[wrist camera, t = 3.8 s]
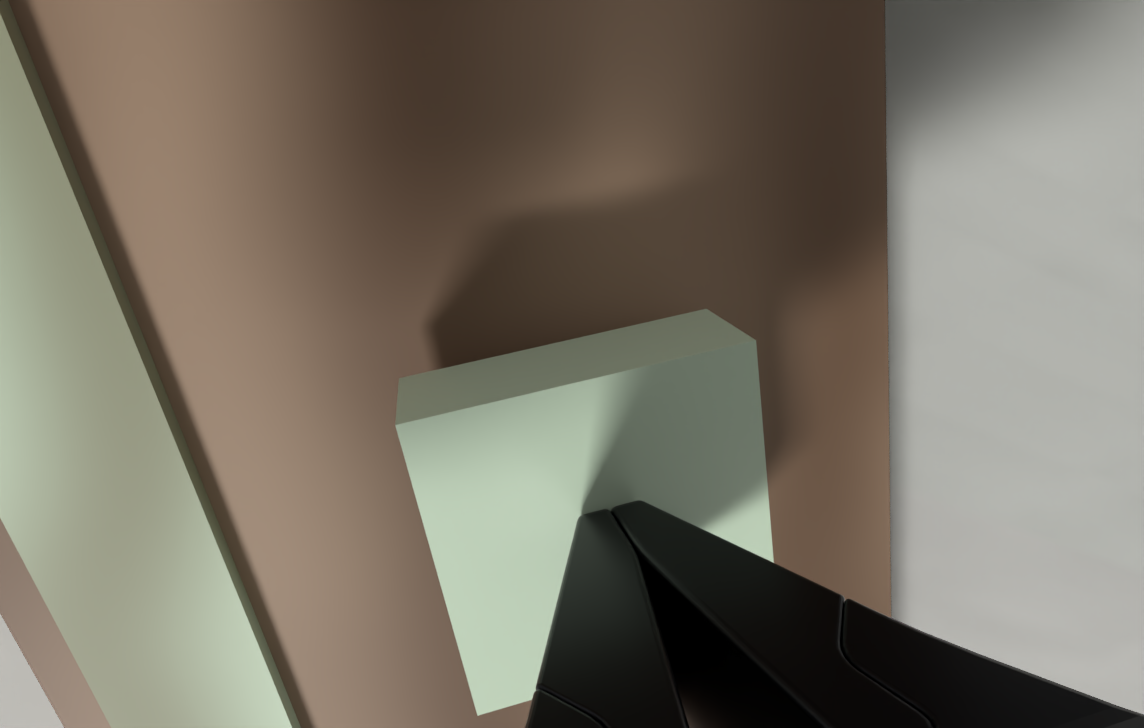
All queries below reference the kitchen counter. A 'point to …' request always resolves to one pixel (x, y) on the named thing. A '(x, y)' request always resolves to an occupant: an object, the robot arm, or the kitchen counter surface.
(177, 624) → the button panel
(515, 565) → the sage green button
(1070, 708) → the robot arm
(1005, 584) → the kitchen counter surface
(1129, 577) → the kitchen counter surface
